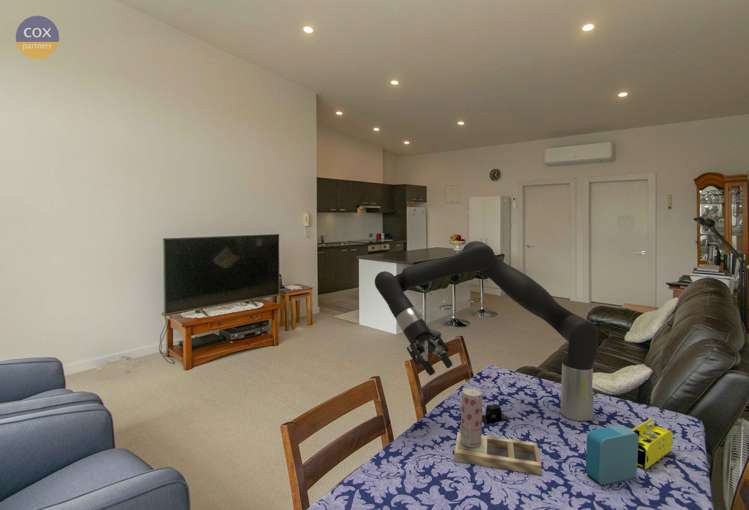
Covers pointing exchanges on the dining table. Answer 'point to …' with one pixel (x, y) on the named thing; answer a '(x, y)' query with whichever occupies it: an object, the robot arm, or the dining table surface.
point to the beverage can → (471, 417)
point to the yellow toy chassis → (652, 443)
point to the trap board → (501, 454)
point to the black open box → (494, 415)
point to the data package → (612, 454)
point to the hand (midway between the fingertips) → (441, 370)
